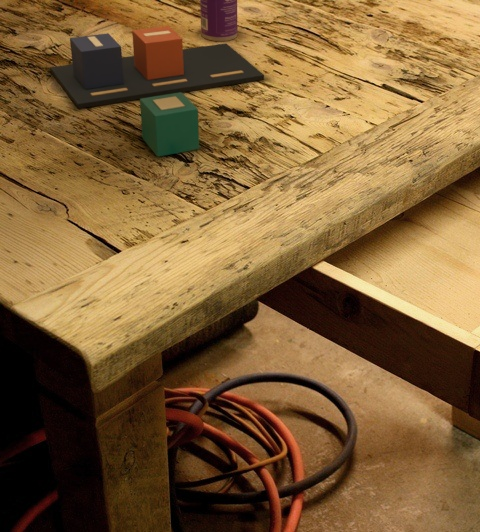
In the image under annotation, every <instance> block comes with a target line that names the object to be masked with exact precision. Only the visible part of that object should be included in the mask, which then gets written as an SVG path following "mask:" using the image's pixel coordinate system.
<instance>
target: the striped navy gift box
mask: <svg viewBox="0 0 480 532" xmlns="http://www.w3.org/2000/svg"><path fill="white" fill-rule="evenodd" d="M69 44H70V53H71V60H72V61H71V64H73V73H74V76H75V77H76V79H77V80H78V81H79V82H80V84H81V85H82V86H83V87H84V89H93V88H99V87H106V86H113V85H119V84H124V78H123V65H122V57H123V53H122V46H121V45H120V44H119V43H118V41H117V40H115V39H114V38H113V36H112V35H111V34H110V33H109V32H108V33H99V34H91V35H83V36H75V37H70V38H69Z"/></svg>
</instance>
